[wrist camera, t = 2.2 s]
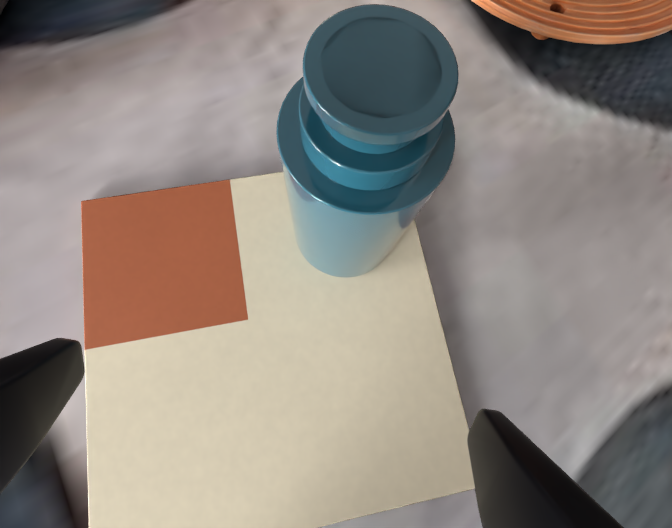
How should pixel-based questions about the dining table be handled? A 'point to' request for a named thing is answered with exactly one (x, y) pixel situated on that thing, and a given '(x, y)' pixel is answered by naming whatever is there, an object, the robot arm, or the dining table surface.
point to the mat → (256, 369)
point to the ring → (586, 18)
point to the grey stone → (2, 5)
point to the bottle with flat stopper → (366, 134)
